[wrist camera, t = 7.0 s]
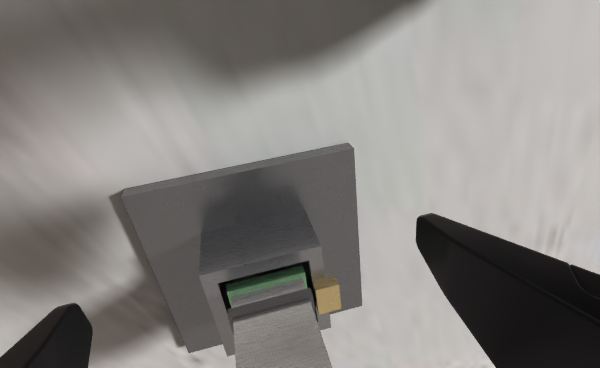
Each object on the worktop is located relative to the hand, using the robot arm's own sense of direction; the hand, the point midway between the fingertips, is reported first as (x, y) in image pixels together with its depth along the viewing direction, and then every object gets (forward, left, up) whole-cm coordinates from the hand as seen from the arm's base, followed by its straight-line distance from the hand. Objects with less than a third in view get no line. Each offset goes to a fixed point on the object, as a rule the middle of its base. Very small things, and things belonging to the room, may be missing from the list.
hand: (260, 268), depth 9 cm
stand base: (0, +10, -13) cm, 16 cm away
